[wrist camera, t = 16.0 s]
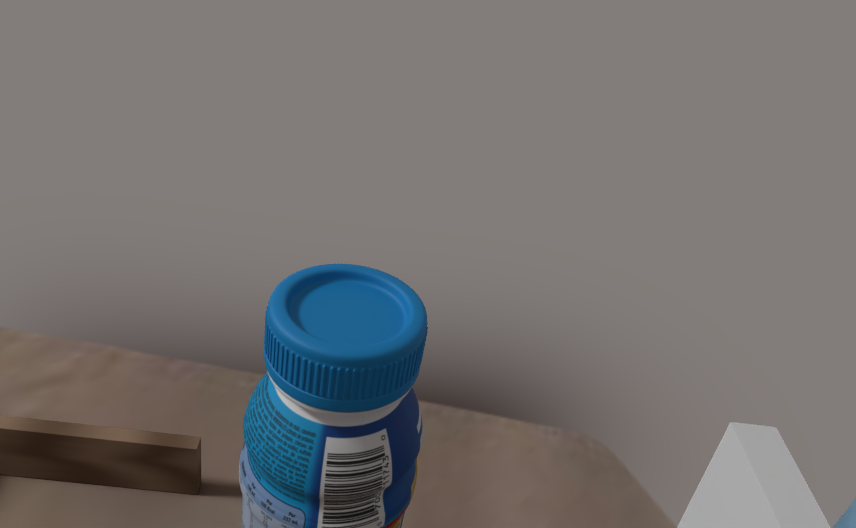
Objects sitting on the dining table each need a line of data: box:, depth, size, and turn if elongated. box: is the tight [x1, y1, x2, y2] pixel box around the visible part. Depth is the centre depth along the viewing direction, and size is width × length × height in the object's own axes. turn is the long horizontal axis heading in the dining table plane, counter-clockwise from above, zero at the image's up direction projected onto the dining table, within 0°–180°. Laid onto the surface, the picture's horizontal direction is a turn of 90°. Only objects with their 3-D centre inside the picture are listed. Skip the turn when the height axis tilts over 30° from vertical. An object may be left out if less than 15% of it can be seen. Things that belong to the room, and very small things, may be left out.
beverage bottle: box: [239, 264, 428, 528], centre depth 36 cm, size 8×8×20 cm
